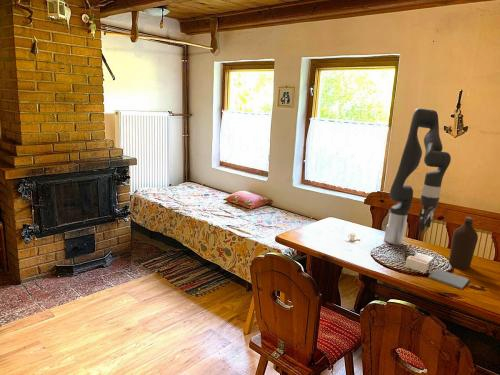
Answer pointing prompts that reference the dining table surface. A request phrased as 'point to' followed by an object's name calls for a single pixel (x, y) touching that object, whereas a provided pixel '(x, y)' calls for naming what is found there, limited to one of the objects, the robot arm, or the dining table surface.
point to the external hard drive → (424, 257)
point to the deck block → (417, 263)
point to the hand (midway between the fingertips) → (424, 228)
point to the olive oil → (463, 245)
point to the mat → (449, 278)
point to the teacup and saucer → (353, 238)
